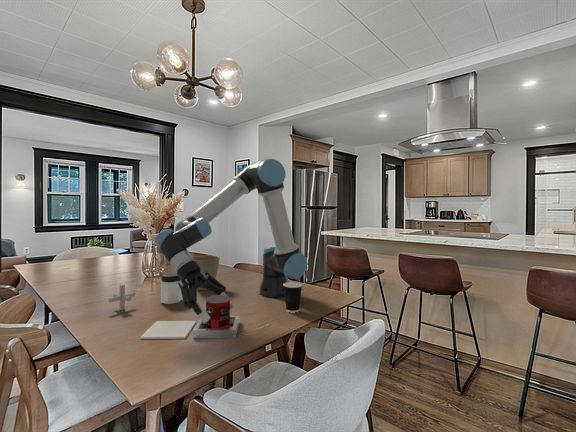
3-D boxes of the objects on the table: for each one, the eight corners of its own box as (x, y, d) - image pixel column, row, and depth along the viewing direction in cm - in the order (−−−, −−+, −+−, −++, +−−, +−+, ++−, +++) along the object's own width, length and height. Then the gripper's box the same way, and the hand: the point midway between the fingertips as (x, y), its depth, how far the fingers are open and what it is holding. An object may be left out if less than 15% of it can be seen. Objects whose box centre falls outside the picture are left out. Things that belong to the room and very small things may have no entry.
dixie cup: (301, 308, 129) (302, 282, 129) (302, 314, 121) (303, 286, 121) (283, 307, 129) (283, 281, 129) (282, 314, 121) (282, 286, 121)
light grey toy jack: (116, 315, 117) (116, 289, 117) (102, 310, 122) (102, 285, 122) (141, 308, 126) (141, 284, 125) (127, 304, 131) (127, 280, 131)
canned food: (207, 325, 108) (208, 294, 108) (230, 325, 109) (231, 294, 108) (203, 334, 100) (204, 301, 100) (228, 334, 101) (228, 301, 101)
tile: (195, 322, 111) (195, 320, 111) (185, 338, 97) (185, 336, 97) (156, 322, 110) (156, 321, 110) (139, 339, 96) (139, 337, 96)
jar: (162, 305, 130) (162, 277, 130) (158, 300, 137) (158, 273, 137) (184, 302, 135) (184, 275, 135) (179, 297, 142) (179, 271, 142)
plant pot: (184, 288, 159) (184, 257, 159) (210, 283, 169) (211, 254, 169) (197, 294, 148) (198, 261, 148) (224, 289, 158) (225, 258, 158)
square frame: (239, 322, 112) (239, 315, 112) (235, 337, 98) (235, 330, 98) (202, 322, 111) (202, 315, 111) (192, 338, 97) (192, 330, 97)
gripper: (202, 267, 122) (233, 310, 116) (152, 280, 99) (188, 334, 93) (213, 255, 120) (246, 298, 114) (164, 265, 97) (202, 319, 91)
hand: (220, 314), depth 104 cm, fingers open, 13 cm apart
